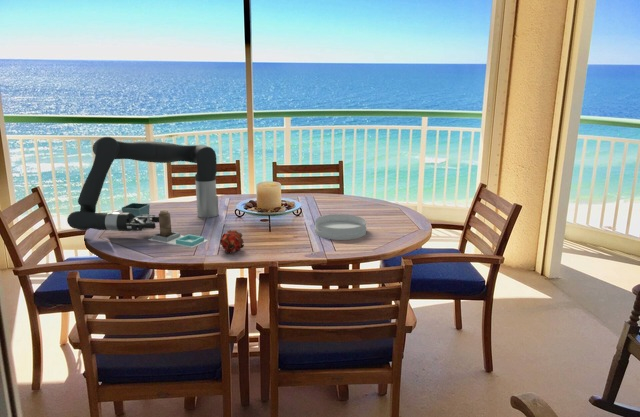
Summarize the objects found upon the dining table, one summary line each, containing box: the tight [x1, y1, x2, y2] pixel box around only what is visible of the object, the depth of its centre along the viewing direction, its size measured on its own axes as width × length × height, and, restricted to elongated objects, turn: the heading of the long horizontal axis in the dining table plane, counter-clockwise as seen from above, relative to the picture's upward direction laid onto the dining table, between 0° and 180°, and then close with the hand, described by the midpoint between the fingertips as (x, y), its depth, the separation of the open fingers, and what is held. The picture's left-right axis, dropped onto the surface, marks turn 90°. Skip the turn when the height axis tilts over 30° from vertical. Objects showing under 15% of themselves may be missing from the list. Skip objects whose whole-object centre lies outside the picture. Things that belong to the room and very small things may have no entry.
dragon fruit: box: [219, 229, 245, 255], centre depth 184 cm, size 8×8×12 cm
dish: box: [314, 213, 367, 241], centre depth 209 cm, size 22×22×5 cm
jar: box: [158, 209, 173, 237], centre depth 195 cm, size 4×4×11 cm
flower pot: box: [121, 202, 151, 222], centre depth 216 cm, size 9×9×9 cm
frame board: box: [147, 231, 209, 248], centre depth 194 cm, size 22×10×3 cm, turn 65°
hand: (159, 222), depth 195 cm, fingers open, 8 cm apart
